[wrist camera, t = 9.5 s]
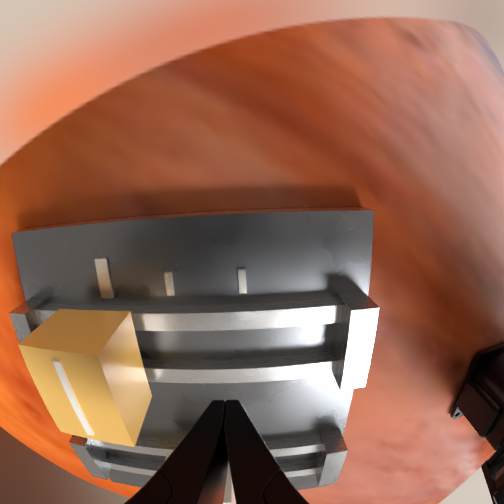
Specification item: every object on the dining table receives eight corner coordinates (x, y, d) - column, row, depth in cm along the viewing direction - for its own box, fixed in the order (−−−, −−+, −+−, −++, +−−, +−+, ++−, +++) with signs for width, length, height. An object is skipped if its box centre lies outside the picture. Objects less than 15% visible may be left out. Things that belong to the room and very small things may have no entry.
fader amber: (140, 297, 12) (96, 357, 7) (158, 379, 13) (134, 448, 9) (72, 297, 12) (16, 345, 7) (95, 374, 13) (59, 433, 8)
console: (362, 207, 13) (394, 216, 10) (324, 474, 18) (332, 502, 15) (25, 228, 12) (-11, 240, 9) (115, 471, 17) (106, 497, 14)
